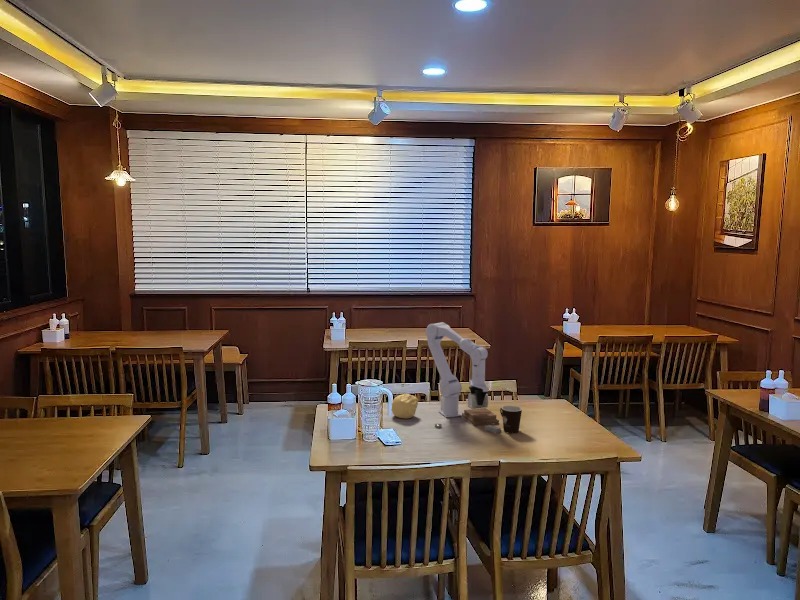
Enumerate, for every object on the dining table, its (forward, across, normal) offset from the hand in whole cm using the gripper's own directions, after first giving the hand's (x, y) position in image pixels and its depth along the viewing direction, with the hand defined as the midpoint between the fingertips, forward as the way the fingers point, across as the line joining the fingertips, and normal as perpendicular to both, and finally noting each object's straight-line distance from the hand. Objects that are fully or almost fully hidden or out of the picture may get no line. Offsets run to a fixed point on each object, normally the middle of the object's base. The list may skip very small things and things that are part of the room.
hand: (477, 403), depth 253 cm
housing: (+2, 0, 0) cm, 2 cm away
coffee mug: (+9, +15, +8) cm, 19 cm away
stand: (+8, -2, +2) cm, 9 cm away
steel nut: (+9, +2, -20) cm, 22 cm away
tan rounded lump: (+9, -17, -29) cm, 35 cm away
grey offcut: (+9, +13, +1) cm, 16 cm away
